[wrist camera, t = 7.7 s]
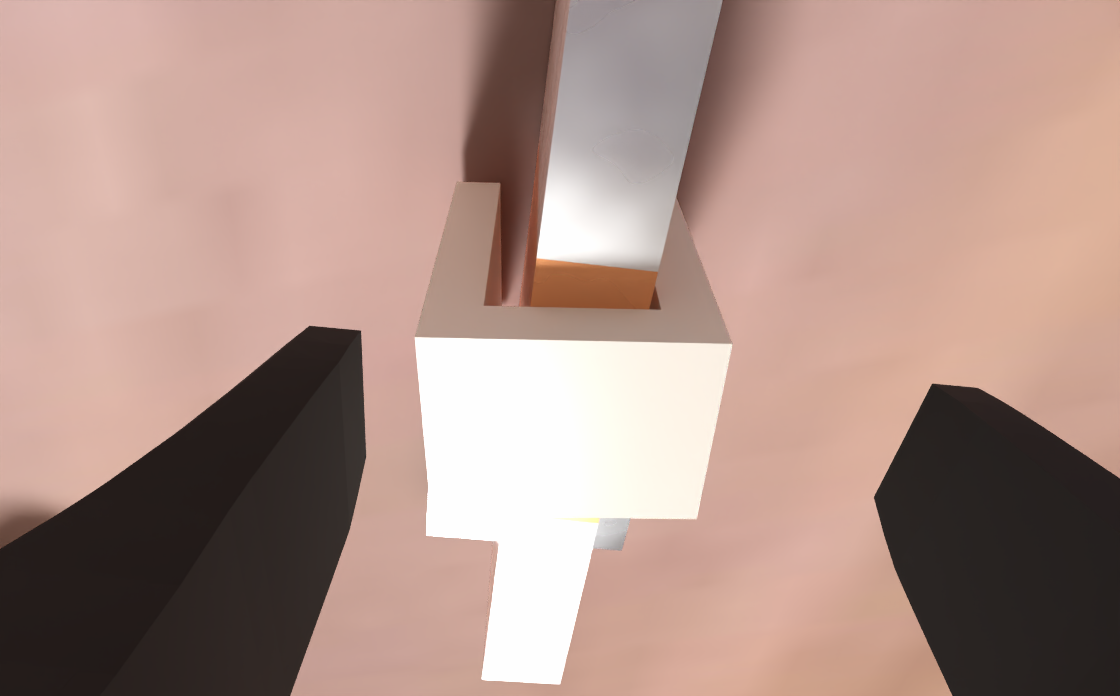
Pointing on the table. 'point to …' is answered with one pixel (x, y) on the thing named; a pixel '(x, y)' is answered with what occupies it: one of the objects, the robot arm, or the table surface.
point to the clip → (565, 385)
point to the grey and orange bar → (590, 269)
